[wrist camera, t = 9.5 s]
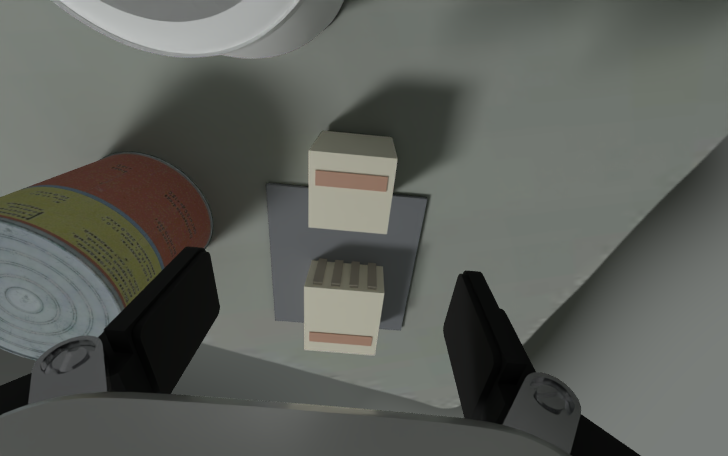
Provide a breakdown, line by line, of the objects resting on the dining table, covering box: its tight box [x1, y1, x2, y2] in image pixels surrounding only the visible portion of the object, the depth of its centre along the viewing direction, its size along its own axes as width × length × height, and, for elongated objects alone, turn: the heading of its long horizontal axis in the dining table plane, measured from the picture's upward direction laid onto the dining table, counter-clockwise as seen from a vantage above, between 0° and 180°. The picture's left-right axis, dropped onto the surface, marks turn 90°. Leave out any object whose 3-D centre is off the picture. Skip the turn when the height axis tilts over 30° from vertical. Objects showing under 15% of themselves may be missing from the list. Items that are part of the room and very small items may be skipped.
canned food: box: [0, 152, 213, 361], centre depth 23 cm, size 11×11×12 cm
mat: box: [266, 183, 427, 331], centre depth 31 cm, size 14×16×1 cm
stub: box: [308, 131, 398, 234], centre depth 23 cm, size 6×5×6 cm
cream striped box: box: [304, 258, 384, 355], centre depth 30 cm, size 7×8×4 cm
